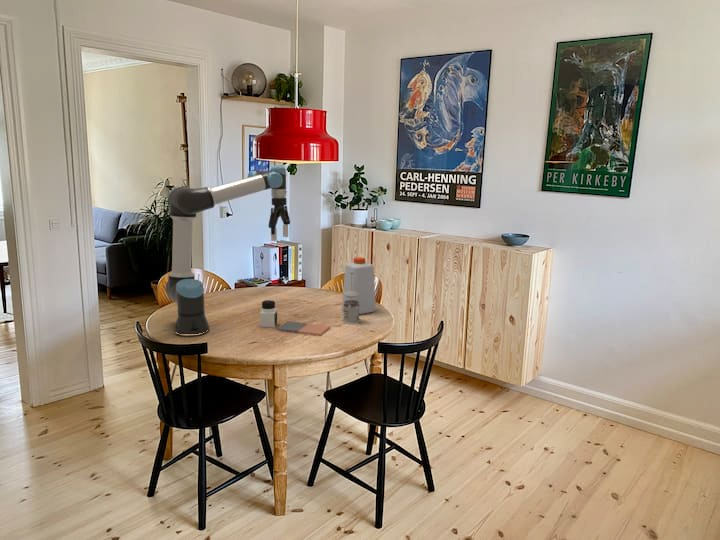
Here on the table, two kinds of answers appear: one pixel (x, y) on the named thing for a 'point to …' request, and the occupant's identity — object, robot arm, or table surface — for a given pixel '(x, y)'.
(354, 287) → the plastic bottle
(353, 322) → the french press
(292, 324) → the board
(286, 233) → the robot arm
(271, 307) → the medicine bottle
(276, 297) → the table surface
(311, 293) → the table surface
